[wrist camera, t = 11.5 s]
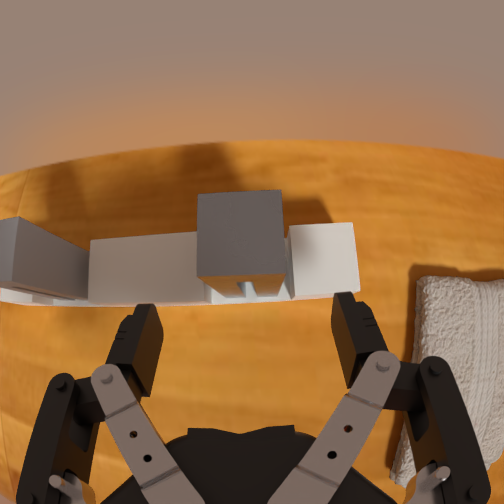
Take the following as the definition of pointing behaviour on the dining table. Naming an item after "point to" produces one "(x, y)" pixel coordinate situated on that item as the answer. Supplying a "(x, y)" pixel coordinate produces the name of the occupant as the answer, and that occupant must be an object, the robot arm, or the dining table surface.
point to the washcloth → (462, 356)
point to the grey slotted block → (241, 242)
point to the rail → (160, 268)
